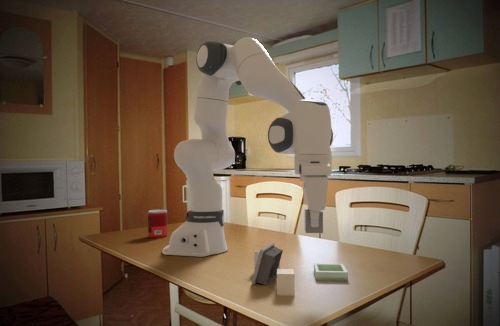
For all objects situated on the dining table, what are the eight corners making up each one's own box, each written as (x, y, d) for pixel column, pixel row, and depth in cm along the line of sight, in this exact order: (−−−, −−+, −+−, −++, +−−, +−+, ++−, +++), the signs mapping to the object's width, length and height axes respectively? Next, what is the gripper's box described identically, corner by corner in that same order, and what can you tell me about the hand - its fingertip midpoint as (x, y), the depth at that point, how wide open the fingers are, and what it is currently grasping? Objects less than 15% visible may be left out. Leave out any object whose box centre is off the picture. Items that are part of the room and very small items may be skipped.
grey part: (305, 233, 88) (305, 211, 88) (304, 229, 92) (304, 209, 92) (323, 233, 87) (322, 211, 87) (321, 229, 91) (321, 209, 91)
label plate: (254, 272, 104) (254, 251, 104) (254, 272, 105) (254, 250, 105) (279, 273, 103) (279, 251, 103) (279, 272, 104) (279, 250, 104)
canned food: (171, 235, 159) (171, 210, 159) (157, 239, 152) (156, 212, 152) (158, 234, 163) (158, 209, 163) (144, 237, 156) (143, 211, 156)
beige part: (277, 295, 86) (276, 273, 86) (277, 289, 90) (277, 268, 90) (294, 295, 86) (294, 274, 86) (294, 289, 90) (293, 269, 90)
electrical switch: (263, 274, 102) (266, 241, 102) (281, 278, 100) (284, 244, 100) (250, 285, 94) (253, 248, 93) (270, 289, 92) (272, 252, 91)
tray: (316, 280, 96) (316, 272, 96) (313, 271, 104) (313, 263, 104) (348, 280, 96) (347, 272, 96) (342, 271, 104) (342, 263, 104)
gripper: (297, 166, 100) (298, 217, 100) (301, 167, 80) (302, 232, 80) (321, 166, 99) (322, 217, 100) (331, 167, 79) (332, 232, 79)
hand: (313, 224), depth 89 cm, fingers closed on grey part, 4 cm apart
